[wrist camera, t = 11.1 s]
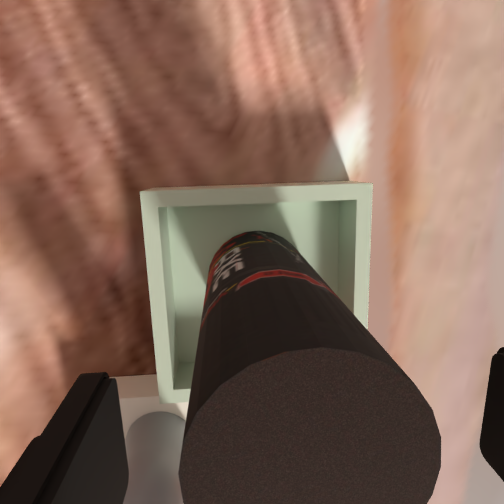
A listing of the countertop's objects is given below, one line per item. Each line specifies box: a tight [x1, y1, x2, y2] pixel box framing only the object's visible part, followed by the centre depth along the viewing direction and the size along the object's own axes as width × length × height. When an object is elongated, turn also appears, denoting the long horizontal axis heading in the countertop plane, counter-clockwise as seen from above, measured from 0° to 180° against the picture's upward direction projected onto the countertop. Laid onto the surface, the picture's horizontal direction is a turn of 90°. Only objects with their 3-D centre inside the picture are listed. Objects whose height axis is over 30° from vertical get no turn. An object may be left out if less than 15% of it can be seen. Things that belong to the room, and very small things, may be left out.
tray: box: [140, 181, 373, 404], centre depth 22 cm, size 12×12×4 cm
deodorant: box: [178, 231, 441, 504], centre depth 16 cm, size 6×6×15 cm
